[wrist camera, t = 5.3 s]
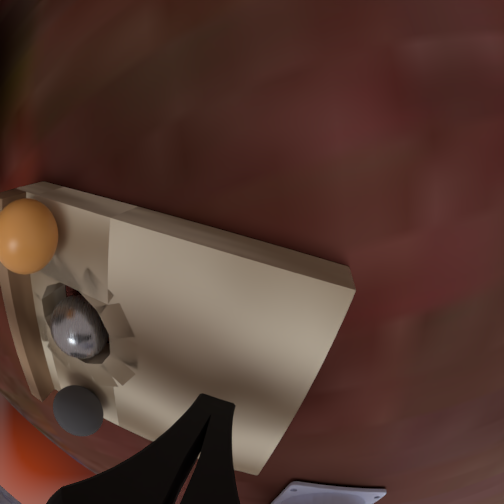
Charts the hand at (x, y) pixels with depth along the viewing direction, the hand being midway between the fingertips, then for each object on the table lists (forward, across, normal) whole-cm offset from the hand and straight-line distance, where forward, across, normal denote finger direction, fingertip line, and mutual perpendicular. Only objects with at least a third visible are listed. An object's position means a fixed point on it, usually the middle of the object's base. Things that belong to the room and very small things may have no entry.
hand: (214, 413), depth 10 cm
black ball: (0, +7, +5) cm, 9 cm away
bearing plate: (+3, +4, 0) cm, 5 cm away
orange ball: (0, +9, -5) cm, 10 cm away
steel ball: (+2, +8, 0) cm, 8 cm away
